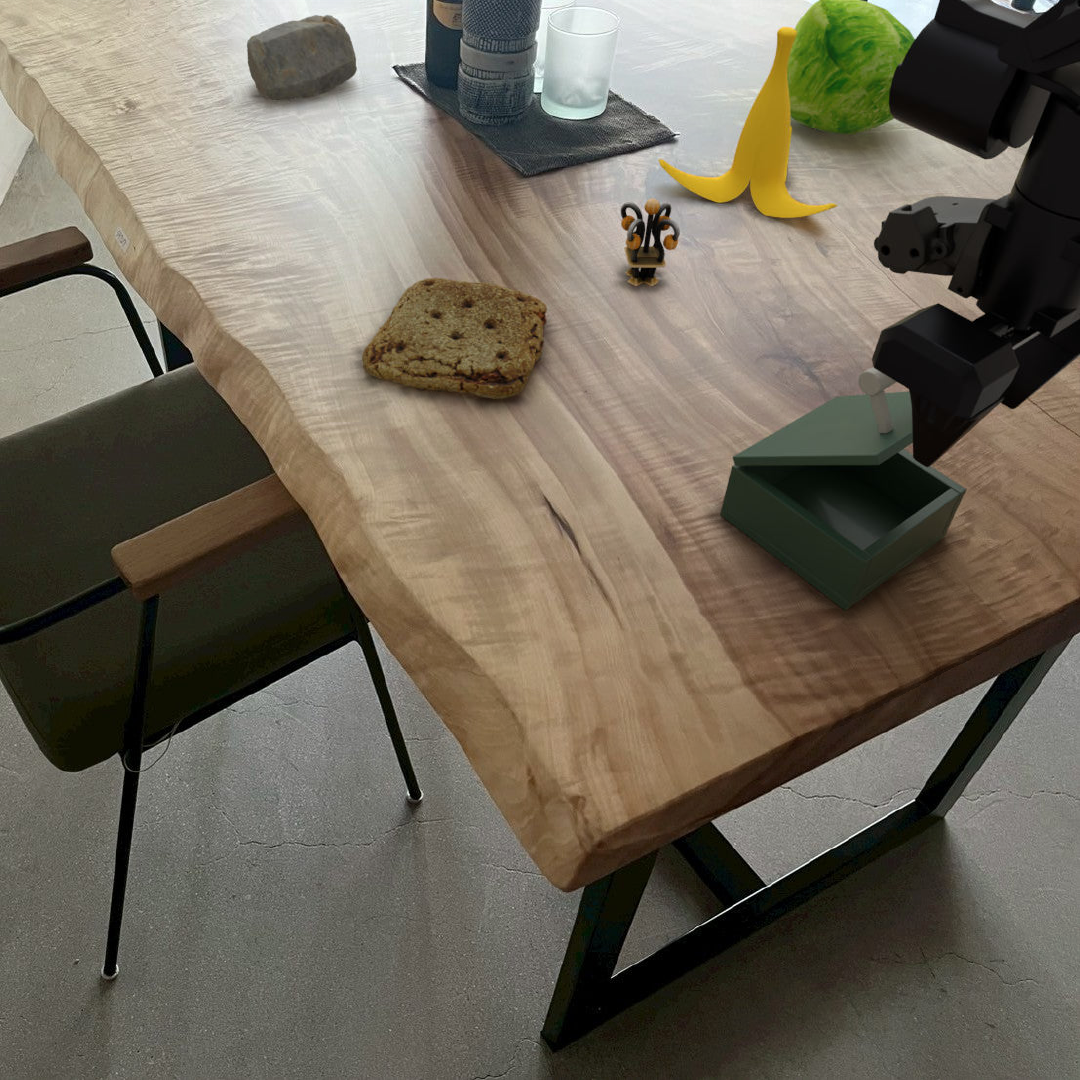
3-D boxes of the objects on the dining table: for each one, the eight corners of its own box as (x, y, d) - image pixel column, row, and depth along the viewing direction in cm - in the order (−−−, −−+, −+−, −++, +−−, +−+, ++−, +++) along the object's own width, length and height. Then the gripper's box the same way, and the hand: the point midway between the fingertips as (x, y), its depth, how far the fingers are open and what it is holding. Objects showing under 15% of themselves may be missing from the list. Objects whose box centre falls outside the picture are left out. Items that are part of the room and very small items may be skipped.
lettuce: (832, 85, 134) (893, -21, 124) (893, 180, 123) (966, 73, 113) (735, 60, 129) (791, -52, 119) (790, 158, 117) (857, 43, 107)
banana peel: (649, 189, 111) (672, 24, 99) (778, 150, 119) (813, -7, 107) (757, 261, 102) (796, 88, 90) (887, 213, 110) (940, 49, 98)
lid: (986, 395, 68) (970, 323, 67) (878, 465, 63) (858, 388, 61) (838, 405, 78) (822, 342, 77) (734, 466, 73) (714, 400, 72)
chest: (944, 537, 76) (967, 489, 73) (845, 611, 71) (865, 562, 67) (820, 453, 82) (836, 404, 79) (719, 514, 77) (731, 465, 73)
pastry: (497, 273, 98) (497, 245, 96) (599, 373, 88) (603, 344, 86) (323, 320, 91) (320, 290, 89) (413, 435, 81) (412, 404, 79)
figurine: (667, 263, 101) (672, 184, 95) (676, 291, 97) (682, 211, 91) (618, 267, 100) (620, 188, 94) (625, 295, 97) (627, 215, 91)
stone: (271, 111, 119) (262, 40, 114) (242, 85, 124) (232, 15, 118) (367, 90, 125) (363, 21, 119) (336, 66, 129) (330, -2, 123)
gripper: (1031, 95, 61) (943, 321, 73) (831, 179, 52) (765, 422, 64) (1216, 170, 56) (1089, 402, 67) (1027, 278, 47) (917, 525, 58)
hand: (966, 432), depth 64 cm, fingers open, 9 cm apart
